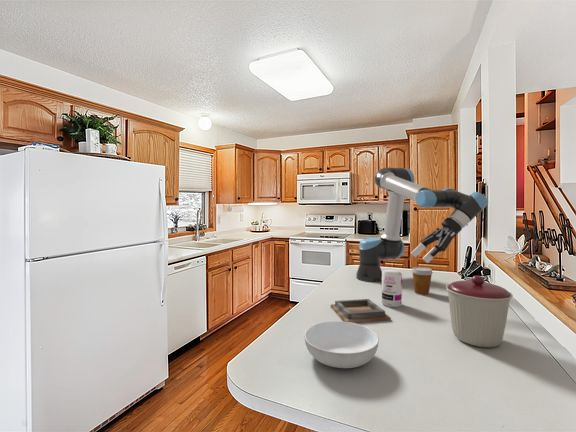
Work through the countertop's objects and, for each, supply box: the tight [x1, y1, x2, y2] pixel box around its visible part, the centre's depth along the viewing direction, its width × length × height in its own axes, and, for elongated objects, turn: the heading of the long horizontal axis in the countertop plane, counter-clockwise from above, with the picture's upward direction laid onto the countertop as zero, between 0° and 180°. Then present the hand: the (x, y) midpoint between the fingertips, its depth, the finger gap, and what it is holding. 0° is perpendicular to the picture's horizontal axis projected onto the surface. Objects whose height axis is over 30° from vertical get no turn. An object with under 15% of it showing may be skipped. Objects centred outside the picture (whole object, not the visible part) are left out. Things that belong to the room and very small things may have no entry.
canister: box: [445, 275, 514, 348], centre depth 97 cm, size 18×18×21 cm
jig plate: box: [330, 298, 392, 324], centre depth 121 cm, size 18×18×3 cm
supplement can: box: [381, 268, 403, 308], centre depth 130 cm, size 8×8×15 cm
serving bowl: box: [303, 320, 380, 369], centre depth 86 cm, size 21×21×7 cm
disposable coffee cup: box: [411, 266, 433, 296], centre depth 147 cm, size 10×10×12 cm
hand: (418, 258), depth 129 cm, fingers open, 13 cm apart
